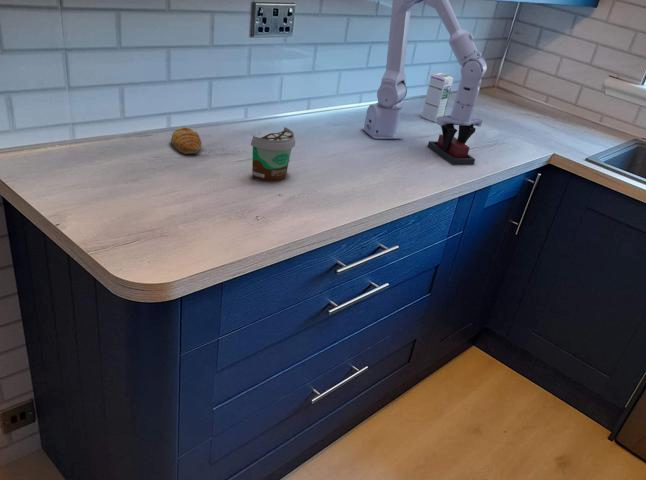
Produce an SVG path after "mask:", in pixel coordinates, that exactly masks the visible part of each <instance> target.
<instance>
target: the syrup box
mask: <svg viewBox="0 0 646 480" xmlns="http://www.w3.org/2000/svg"><path fill="white" fill-rule="evenodd" d="M453 82H454V77H453V76H452V75H450V74H448V73H447V74H446V73H444V72H437V73H432V74H430V77H429V81H428V86H427V90H426V95H425V99H424V104H423V108H422V113H421V118H422V119H425V120H428V121H429V122H433V123H436V122H437V118H438V117H440V116H446V115H445V114H446V112H447V111H446V110H447V106H448V102H449V100H450V99H449V98H450V94H451V91H452V86H453Z"/></svg>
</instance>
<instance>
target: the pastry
mask: <svg viewBox="0 0 646 480" xmlns="http://www.w3.org/2000/svg"><path fill="white" fill-rule="evenodd" d="M170 142H171V144H172V146H173V147H174V148H175V149H176V150H177V151H178V152H179V153H183V154H184V155H187V154H198V153H199V151H200V149H201V148H202V140H201V138H200V134H198V132H196V131H194V130H193V129H192V128H189V127H185V126H184V127H180V128H176V129H175V130H174V131H173V133H172V135H171V138H170Z"/></svg>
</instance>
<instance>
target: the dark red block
mask: <svg viewBox="0 0 646 480" xmlns="http://www.w3.org/2000/svg"><path fill="white" fill-rule="evenodd" d="M437 141H438V142H437V146H438V147H439V148H441V149H442V150H444V151H445V152H447V153H448V154H449V155H451V156H452V157H454V158H467V155H469V151H470V149H471V148H470V146H468V145H467V144H466V143H465V144H464V143H462V142H461V141H459V140H458V138H457V137H455V136H454V137H453V139H452V142H451V146H450V148H449V150H448V151H446V150H445V149H443V134H441V133H439V135H438V138H437Z"/></svg>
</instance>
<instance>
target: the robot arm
mask: <svg viewBox="0 0 646 480" xmlns="http://www.w3.org/2000/svg"><path fill="white" fill-rule="evenodd" d="M420 3H423V4H424V5H427V6H429V7H431V8H433V9H434V10H435V11H436V13H437V15H438V17H439V19H440V20H441V22H442V24H443V26H444V27H445V30H446V31H447V32H448V34H449V39H448V44H449V47H450V48H451V51H452V52H453V55H454V57H455V59H456V61H457V62H458V64H459V65H460V66H461V68H460V75H461V78H460V81H459V84H458V87H457V92H456V95H455V98H454V103H453V106H452V110H451V114H449V115H444V116H440V117H438V118H437V122H435V123H436V124H437V125H438V126H440V129H441V133H442V135H443V149H445V150H446V151H448V150H449V148H450V146H451V142H452V139H453V137H455V135H456V133H457V132H458V134H457V139H458V140H459V141H461V142H462V143H464V144H465V145H466V143H467V142H468V140H469V139H470V138H471V136H473V134H474V133H476V128H475V127H479V128H480V127H482V124H483V121H484V120H483V119H481V118H480V117H474V116H473V113H474V110H475V106H476V103H477V100H478V96H479V93H480V87H481V84H482V80H483V79H482V77H484V76H485V74H486V73H487V69H488V65H487V62H486V59H485V57H483V56H482V55H483V54H482V52H481V51H479V50H478V48H477V47H476V45H475V43H474V40H473V39H475V37H474V34H473V33H470V32H469V30H466V29H464V28H462V27H461V25H460V22H459V20H458V18H457V15H456V14H455V11H454V9H453V6H452V4H451V2H450V0H392V4H391V13H390V25H389V32H388V33H389V34H388V44H387V55H386V65H385V71H384V74H383V75H382V77H381V83H380V85H379V87H378V88H377V92H376V97H377V98H376V99H377V102H376V103H373V104H369V106H368V107H367V109H366V114H365V120H364V124H363V127H362V128H361V129H362V130H363V131H364V132H365V133H366V134H368V135H369V136H370V137H371V138H373V139H374V140H378V139H379V140H401V139H402V137H401V136H400V135H399V134H397V131H398V126H399V122H400V117H401V112H402V109H403V103H402V101H403V100H405V98H406V96H407V94H408V86H407V84H406V79H407V78H406V77H407V76H406V73H405V66H406V58H407V47H408V37H409V31H410V21H411V11H412V10H413V9H414V8H416V7H417V6H418V5H420ZM455 126H458V129H457V128H455Z"/></svg>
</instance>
